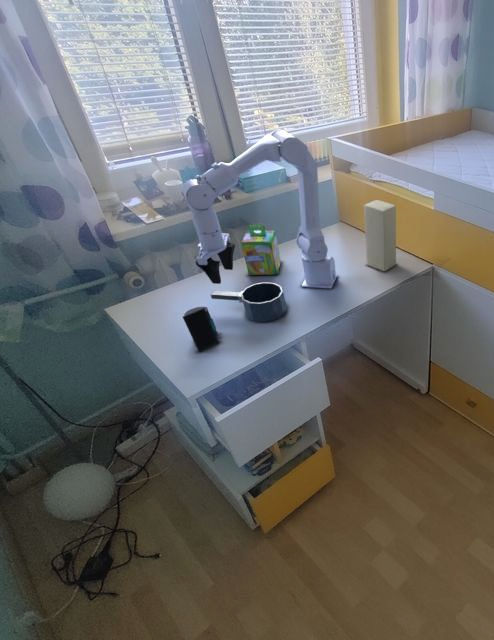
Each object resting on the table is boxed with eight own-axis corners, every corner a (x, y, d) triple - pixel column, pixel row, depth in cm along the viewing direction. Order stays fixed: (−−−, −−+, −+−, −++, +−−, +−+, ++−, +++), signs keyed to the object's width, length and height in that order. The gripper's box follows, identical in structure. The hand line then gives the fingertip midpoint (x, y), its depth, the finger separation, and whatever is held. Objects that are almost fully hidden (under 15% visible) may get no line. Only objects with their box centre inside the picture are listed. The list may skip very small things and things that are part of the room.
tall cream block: (398, 263, 148) (397, 204, 135) (385, 272, 143) (383, 211, 130) (380, 257, 151) (377, 198, 138) (366, 265, 146) (362, 205, 133)
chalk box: (248, 275, 138) (236, 232, 128) (254, 262, 145) (243, 220, 135) (278, 275, 139) (268, 232, 129) (282, 261, 146) (273, 220, 136)
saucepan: (291, 301, 127) (287, 283, 123) (279, 323, 119) (274, 304, 115) (225, 297, 128) (219, 279, 124) (208, 318, 119) (201, 299, 115)
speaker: (222, 345, 110) (208, 310, 104) (198, 352, 108) (182, 318, 102) (218, 331, 116) (204, 298, 110) (195, 338, 114) (180, 304, 107)
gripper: (206, 217, 115) (220, 262, 124) (178, 240, 104) (195, 288, 113) (232, 219, 115) (244, 264, 124) (206, 242, 104) (222, 290, 112)
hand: (223, 275), depth 118 cm, fingers open, 7 cm apart
